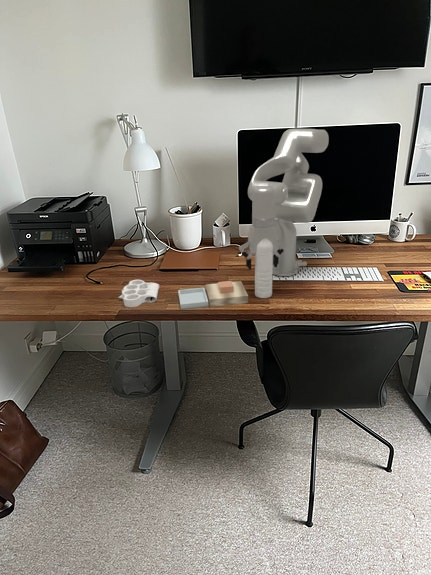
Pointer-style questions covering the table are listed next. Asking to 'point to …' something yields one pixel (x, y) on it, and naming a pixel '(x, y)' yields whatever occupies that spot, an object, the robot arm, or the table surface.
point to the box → (193, 298)
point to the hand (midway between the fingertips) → (262, 267)
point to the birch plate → (226, 295)
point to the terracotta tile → (225, 287)
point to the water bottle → (263, 269)
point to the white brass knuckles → (139, 293)
